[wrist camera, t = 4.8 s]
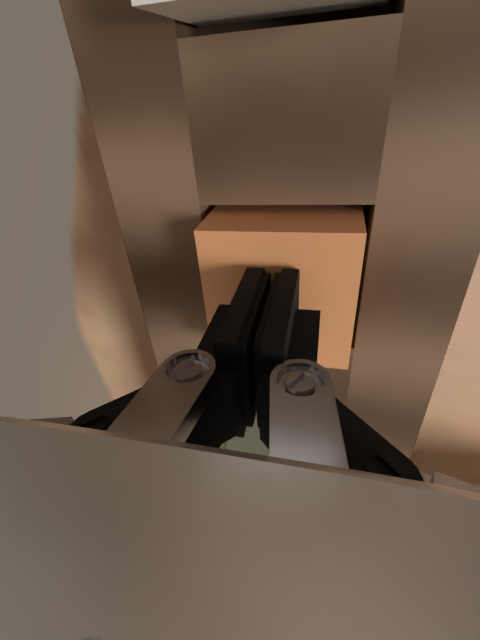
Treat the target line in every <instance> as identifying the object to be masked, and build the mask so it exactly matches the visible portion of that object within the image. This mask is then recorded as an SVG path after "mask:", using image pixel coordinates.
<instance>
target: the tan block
mask: <svg viewBox="0 0 480 640" xmlns="http://www.w3.org/2000/svg"><path fill="white" fill-rule="evenodd" d="M194 236H195V243H196V250H197V256H198V263H199V270H200V277H201V283H202V290H203V297H204V303H205V310H206V317H207V324H208V325H209V323H210V322H211V320H212V318H213V316H214V314H215V312H216V310H217V308H218V306H219V305H220V304H226V305H230V303H231V300H232V298H233V296H234V294H235V292H236V290H237V287H238V285H239V283H240V281H241V279H242V277H243V274H244V272H245V270H246V268H247V267H256V268H264V269H265V272H270V273H271V284H272V281H273V278H274V275H275V273H281V270H282V268H283V269H299V270H300V281H299V309H306V310H321V313H320V328H319V342H318V356H317V363H318V364H320V365H321V366H323V367H325V368H336V369H346V370H348V366H349V358H350V351H351V344H352V337H353V330H354V322H355V315H356V308H357V301H358V294H359V286H360V279H361V272H362V265H363V258H364V251H365V243H366V236H367V231H366V225H365V220H364V214H363V208H362V205H216V206H215V208H214V209H213V210H212V211H211V212H210V213H209V214H208V215H207V216H206V218H205V219H204V220H203V221H202V222H201V223H200V224H199V225H198V227H197V228H196V229H195V230H194Z"/></svg>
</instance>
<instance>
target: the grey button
mask: <svg viewBox="0 0 480 640" xmlns="http://www.w3.org/2000/svg"><path fill="white" fill-rule="evenodd" d="M388 2H389V0H131V4H132V6H133V7H136V8H139V9H142V10H146V11H149V12H152V13H156V14H159V15H162V16H166V17H169V18H172V19H176V20H179V21H182V22H186V23H189V24H192V25H196V26H199V27H204V26H212V25H220V24H229V23H237V22H245V21H254V20H262V19H270V18H279V17H287V16H295V15H304V14H312V13H320V12H329V11H337V10H346V9H354V8H362V7H371V6H379V5H386V4H387V3H388Z"/></svg>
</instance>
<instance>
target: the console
mask: <svg viewBox="0 0 480 640" xmlns="http://www.w3.org/2000/svg"><path fill="white" fill-rule="evenodd" d="M59 2H60V6H61V10H62V13H63V17H64V21H65V25H66V28H67V32H68V35H69V39H70V43H71V47H72V51H73V54H74V58H75V62H76V65H77V69H78V73H79V77H80V80H81V84H82V88H83V91H84V95H85V99H86V103H87V106H88V110H89V114H90V117H91V121H92V125H93V129H94V132H95V136H96V140H97V143H98V147H99V151H100V155H101V158H102V162H103V166H104V169H105V173H106V177H107V181H108V184H109V188H110V192H111V195H112V199H113V203H114V207H115V210H116V214H117V218H118V221H119V225H120V229H121V233H122V236H123V240H124V244H125V247H126V251H127V255H128V259H129V262H130V266H131V270H132V273H133V277H134V281H135V285H136V288H137V292H138V296H139V299H140V303H141V307H142V311H143V314H144V318H145V322H146V325H147V329H148V333H149V337H150V340H151V344H152V348H153V351H154V355H155V359H156V363H157V366H158V368H159V366H160V365H161V364H162V363H163V361H165V360H166V359H167V358H168V357H169V356H171V355H172V354H174V353H176V352H179V351H182V350H187V349H197V347H198V345H199V343H200V341H201V339H202V337H203V335H204V333H205V331H206V329H207V327H208V324H207V317H206V310H205V303H204V297H203V290H202V283H201V277H200V270H199V263H198V256H197V250H196V243H195V236H194V230H195V229H196V228H197V227H198V225H199V224H200V223H201V222H202V221H203V220H204V219H205V218H206V216H207V215H208V214H209V213H210V212H211V211H212V210H213V209H214V208H215V206H216V205H362V208H363V214H364V220H365V225H366V231H367V236H366V243H365V251H364V258H363V265H362V272H361V279H360V286H359V294H358V301H357V308H356V315H355V322H354V330H353V337H352V344H351V351H350V358H349V366H348V370H346V369H336V368H325V367H324V368H325V369H326V370H327V371H328V372H329V374H330V377H331V380H332V385H333V390H334V395H335V397H336V398H337V399H338V400H339V401H340V402H342V403H343V404H344V405H345V406H346V407H348V408H349V409H350V410H351V411H352V412H354V413H355V414H356V415H357V416H358V417H360V418H361V419H362V420H363V421H364V422H366V423H367V424H368V425H369V426H370V427H372V428H373V429H374V430H375V431H376V432H378V433H379V434H380V435H381V436H382V437H384V438H385V439H386V440H387V441H388V442H390V443H391V444H392V445H393V446H394V447H396V448H397V449H398V450H399V451H400V452H402V453H403V454H404V455H405V456H406V457H408V458H409V459H410V457H411V454H412V451H413V448H414V445H415V442H416V439H417V436H418V433H419V430H420V427H421V424H422V422H423V419H424V416H425V413H426V410H427V407H428V404H429V401H430V398H431V395H432V392H433V389H434V386H435V383H436V380H437V377H438V374H439V371H440V368H441V365H442V362H443V359H444V356H445V353H446V350H447V347H448V345H449V342H450V339H451V336H452V333H453V330H454V327H455V324H456V321H457V318H458V315H459V312H460V309H461V306H462V303H463V300H464V297H465V294H466V291H467V288H468V285H469V282H470V279H471V276H472V273H473V270H474V268H475V265H476V262H477V259H478V256H479V253H480V0H389V2H388V3H387V4H386V5H379V6H371V7H362V8H354V9H346V10H337V11H329V12H320V13H312V14H304V15H295V16H287V17H279V18H270V19H262V20H254V21H245V22H237V23H229V24H220V25H212V26H204V27H199V26H196V25H192V24H189V23H186V22H182V21H179V20H176V19H172V18H169V17H166V16H162V15H159V14H156V13H152V12H149V11H146V10H142V9H139V8H136V7H133V6H132V4H131V0H59Z"/></svg>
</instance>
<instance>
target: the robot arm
mask: <svg viewBox="0 0 480 640" xmlns="http://www.w3.org/2000/svg"><path fill="white" fill-rule="evenodd" d="M299 281H300V270H299V269H283V268H282V270H281V273H275V275H274V278H273V281H272V284H271V273H270V272H265V269H264V268H256V267H247V268H246V270H245V272H244V274H243V277H242V279H241V281H240V283H239V285H238V287H237V290H236V292H235V294H234V296H233V298H232V300H231V303H230V305H226V304H220V305H219V306H218V308H217V310H216V312H215V314H214V316H213V318H212V320H211V322H210V323H209V325H208V327H207V329H206V331H205V333H204V335H203V337H202V339H201V341H200V343H199V345H198V347H197V349H187V350H182V351H179V352H176V353H174V354H172V355H171V356H169V357H168V358H167V359H166V360H165V361H163V363H162V364H161V365H160V366H159V368H158V369H157V370H156V371H155V372H154V374H153V375H152V376H151V377H150V378H149V380H148V381H147V382H146V383H145V384H144V386H143V387H142V388H140V389H138V390H136V391H133V392H131V393H129V394H127V395H124V396H122V397H120V398H118V399H116V400H113V401H111V402H109V403H107V404H104V405H102V406H100V407H98V408H96V409H93V410H91V411H89V412H87V413H85V414H83V415H81V416H80V417H78V418H77V419H76V420H75V421H74V420H73V418H72V417H60V418H44V419H28V420H27V419H18V418H12V417H3V416H0V640H480V486H478V485H475V484H472V483H469V482H466V481H463V480H460V479H457V478H454V477H451V476H448V475H445V474H442V473H439V472H436V471H434V473H433V476H432V475H429V474H426V473H423V472H421V471H419V470H418V468H417V467H416V466H415V465H414V464H413V463H412V461H411V460H410V459H409V458H408V457H406V456H405V455H404V454H403V453H402V452H400V451H399V450H398V449H397V448H396V447H394V446H393V445H392V444H391V443H390V442H388V441H387V440H386V439H385V438H384V437H382V436H381V435H380V434H379V433H378V432H376V431H375V430H374V429H373V428H372V427H370V426H369V425H368V424H367V423H366V422H364V421H363V420H362V419H361V418H360V417H358V416H357V415H356V414H355V413H354V412H352V411H351V410H350V409H349V408H348V407H346V406H345V405H344V404H343V403H342V402H340V401H339V400H338V399H337V398H336V397H335V395H334V390H333V385H332V380H331V377H330V374H329V372H328V371H327V370H326V369H325V368H324V367H323V366H321V365H320V364H318V363H317V356H318V342H319V328H320V313H321V310H306V309H299ZM256 412H257V426H258V428H259V432H260V440H261V441H262V442H263V443H264V444H265V446H266V447H267V448H268V449H269V456H266V455H260V454H254V453H247V452H241V451H234V450H228V449H227V441H228V440H230V439H232V438H234V437H242V438H244V435H245V431H246V427H253V425H254V421H255V417H256Z"/></svg>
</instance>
